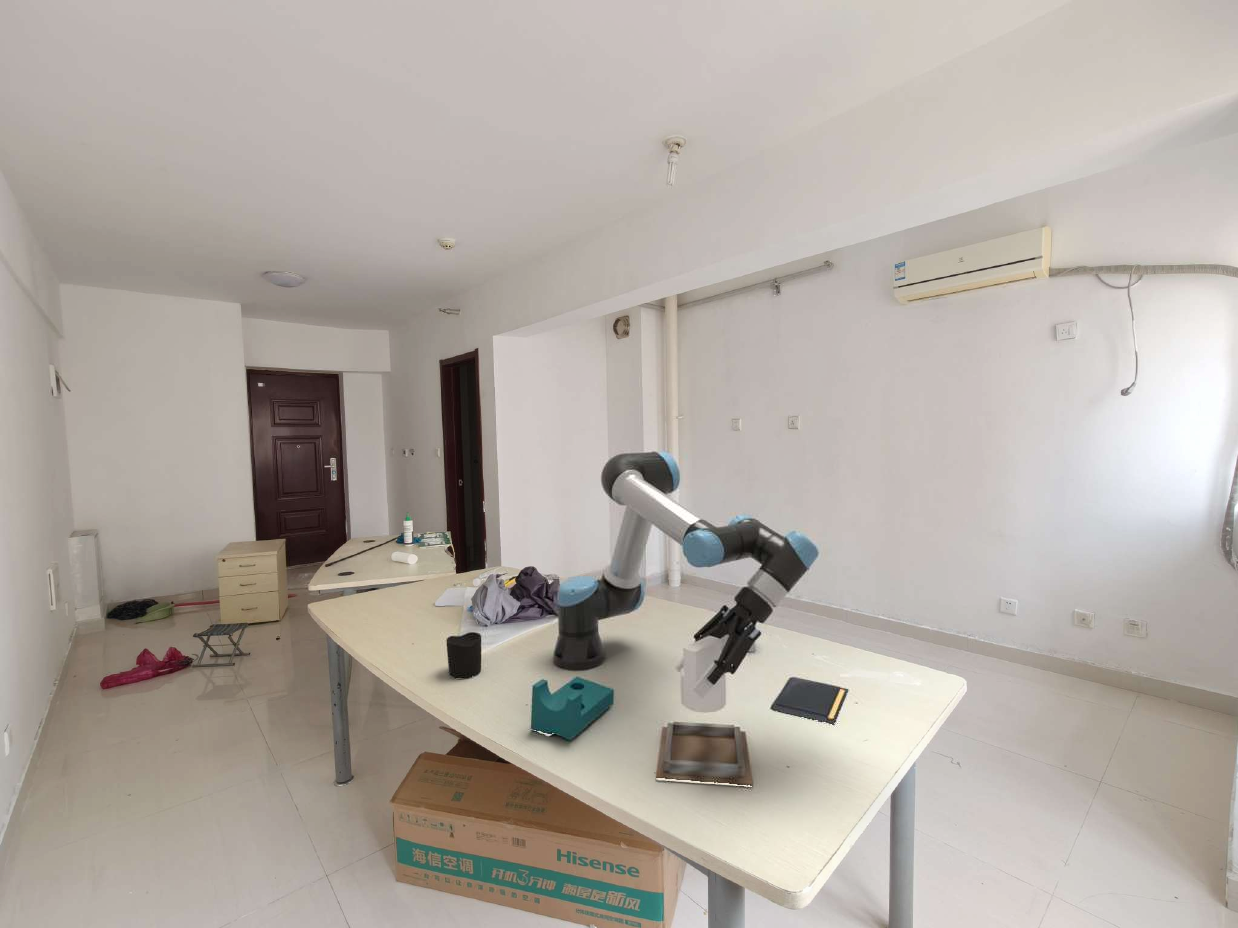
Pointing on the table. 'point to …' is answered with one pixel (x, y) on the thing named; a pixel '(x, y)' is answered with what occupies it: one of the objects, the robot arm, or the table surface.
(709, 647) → the cylinder with rectangular tab
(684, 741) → the plate
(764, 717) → the table surface
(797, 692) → the wallet
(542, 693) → the teal l-shaped bracket
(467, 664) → the pen holder
